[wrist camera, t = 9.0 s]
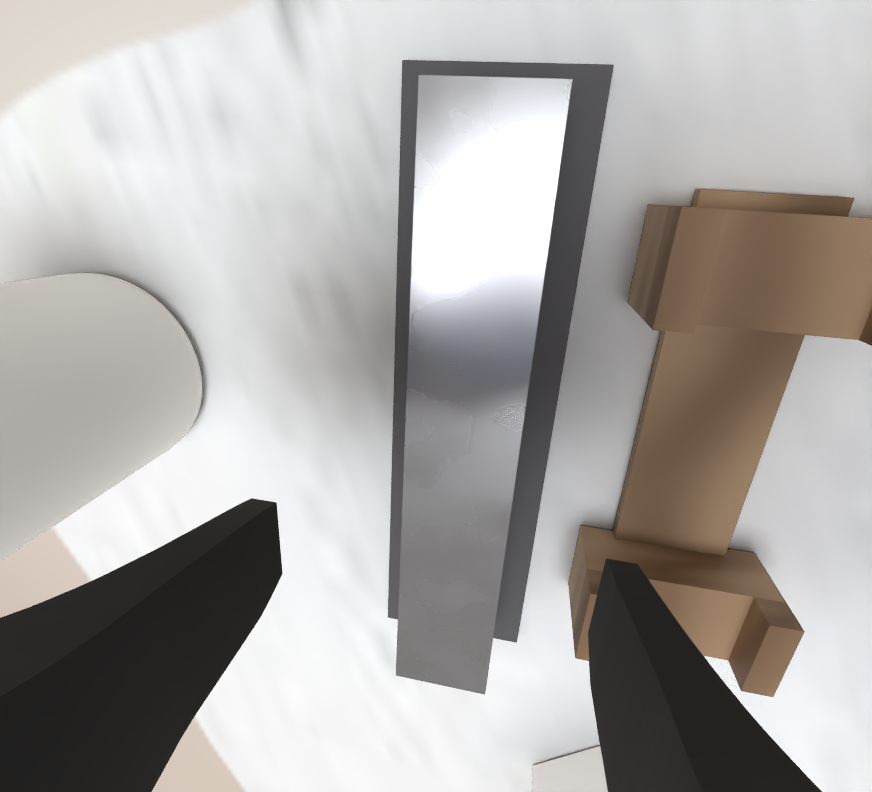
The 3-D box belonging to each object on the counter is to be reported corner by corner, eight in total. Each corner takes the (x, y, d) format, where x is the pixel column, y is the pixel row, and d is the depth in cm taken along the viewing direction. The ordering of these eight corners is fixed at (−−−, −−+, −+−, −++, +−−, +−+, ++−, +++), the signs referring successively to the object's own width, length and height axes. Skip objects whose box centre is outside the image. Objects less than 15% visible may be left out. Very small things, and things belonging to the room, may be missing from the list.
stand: (892, 201, 14) (1010, 201, 10) (728, 620, 20) (768, 707, 16) (651, 186, 15) (687, 183, 11) (566, 592, 21) (572, 668, 17)
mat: (611, 68, 14) (613, 64, 13) (516, 635, 22) (516, 642, 22) (405, 63, 15) (402, 60, 14) (390, 610, 23) (388, 617, 23)
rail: (563, 106, 14) (572, 78, 11) (491, 621, 22) (485, 694, 18) (444, 102, 14) (418, 74, 11) (415, 606, 22) (395, 675, 19)
